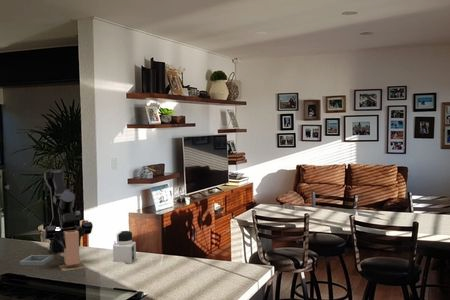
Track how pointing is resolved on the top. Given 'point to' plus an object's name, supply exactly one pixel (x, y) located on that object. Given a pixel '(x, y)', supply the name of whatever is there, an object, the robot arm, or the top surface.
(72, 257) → the sleeve
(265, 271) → the top surface
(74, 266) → the stake block
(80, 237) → the robot arm
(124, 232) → the container
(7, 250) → the top surface
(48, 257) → the tray
